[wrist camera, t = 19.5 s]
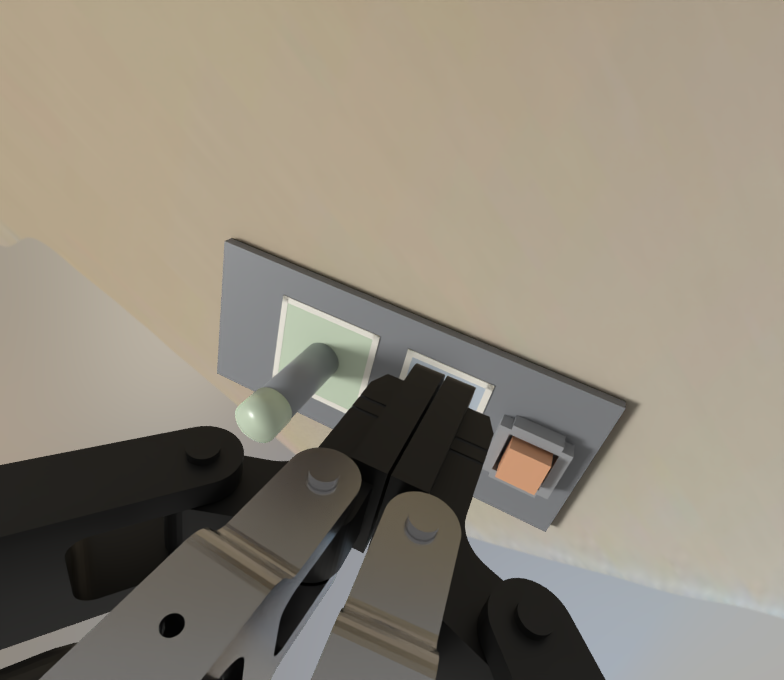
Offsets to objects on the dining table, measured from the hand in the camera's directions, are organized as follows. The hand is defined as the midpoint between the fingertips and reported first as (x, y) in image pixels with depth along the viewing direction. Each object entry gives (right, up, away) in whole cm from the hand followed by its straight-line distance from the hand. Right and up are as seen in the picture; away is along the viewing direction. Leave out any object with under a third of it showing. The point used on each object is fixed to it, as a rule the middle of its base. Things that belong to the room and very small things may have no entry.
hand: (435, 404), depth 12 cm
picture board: (-1, -3, +36) cm, 37 cm away
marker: (-8, 0, +37) cm, 38 cm away
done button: (+11, -9, +32) cm, 35 cm away
